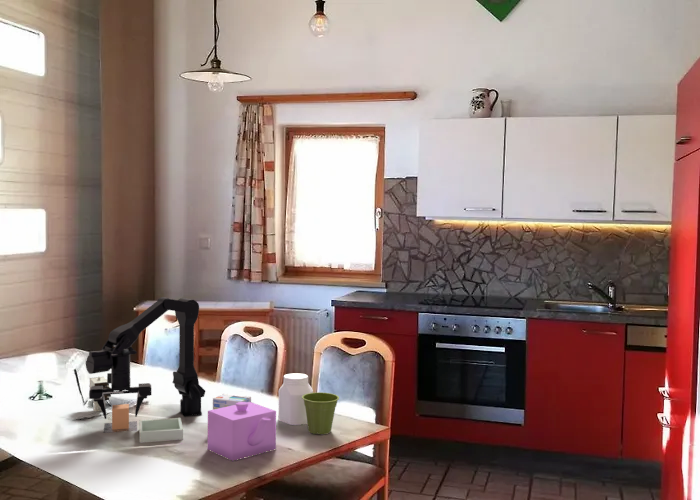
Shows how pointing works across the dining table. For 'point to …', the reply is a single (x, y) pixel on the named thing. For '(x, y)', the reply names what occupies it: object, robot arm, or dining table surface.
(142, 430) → the tray
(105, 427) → the stud plate
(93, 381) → the pneumatic valve
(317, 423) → the plant pot
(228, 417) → the lilac knobbed box
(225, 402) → the light bulb box
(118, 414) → the terracotta orange cube
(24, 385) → the dining table surface
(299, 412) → the jar
